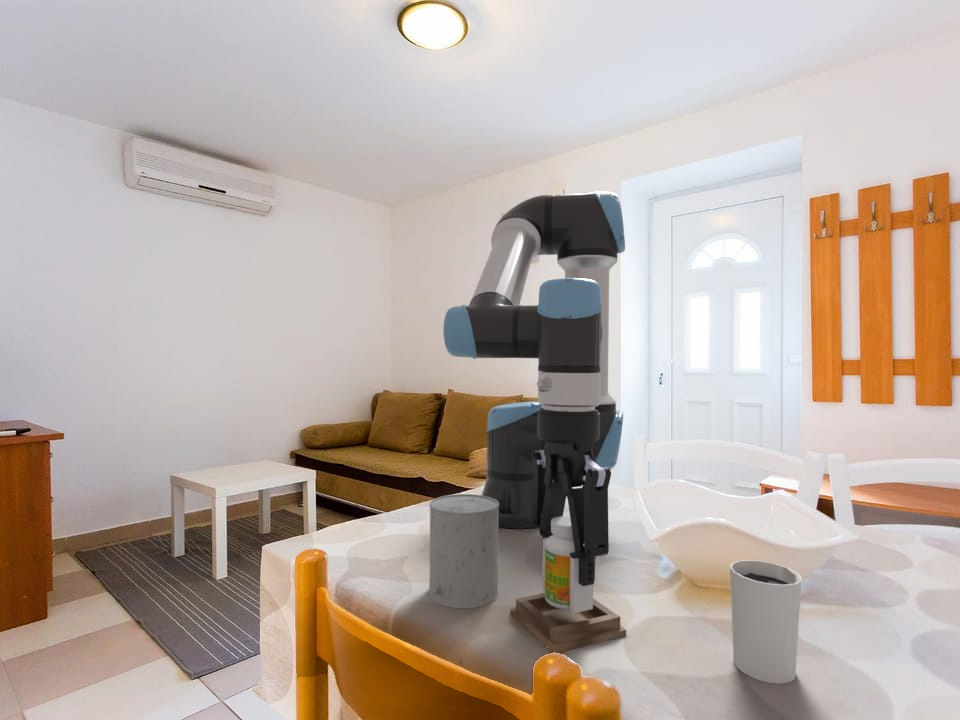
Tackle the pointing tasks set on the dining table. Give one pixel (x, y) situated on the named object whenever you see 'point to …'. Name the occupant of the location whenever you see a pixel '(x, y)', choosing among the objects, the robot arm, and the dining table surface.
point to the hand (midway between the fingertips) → (566, 598)
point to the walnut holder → (566, 623)
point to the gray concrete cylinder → (463, 550)
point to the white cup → (765, 619)
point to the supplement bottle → (558, 563)
